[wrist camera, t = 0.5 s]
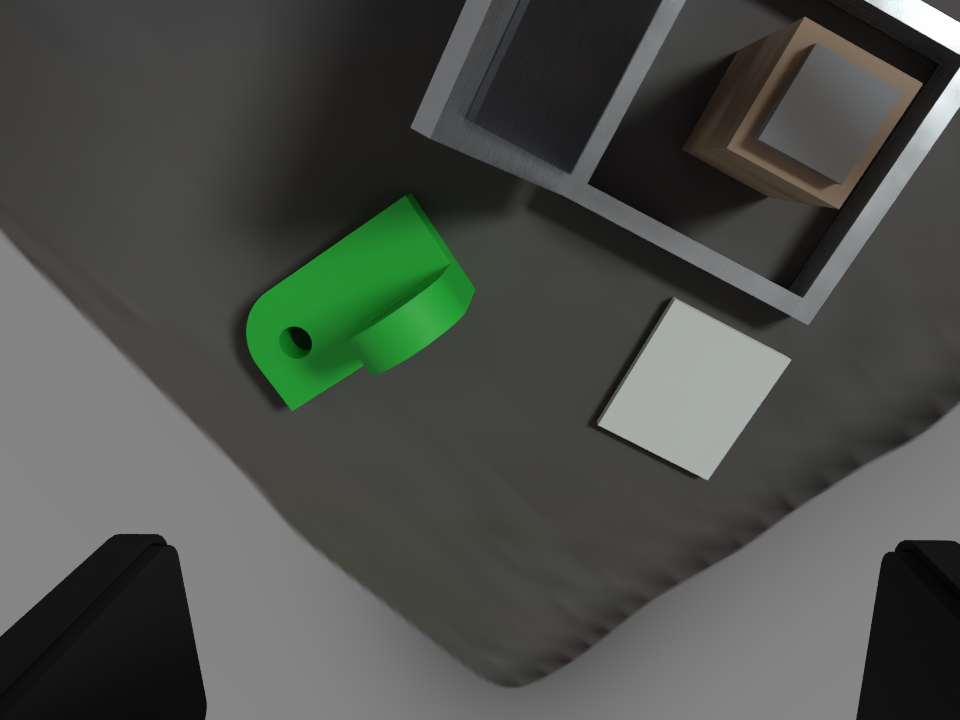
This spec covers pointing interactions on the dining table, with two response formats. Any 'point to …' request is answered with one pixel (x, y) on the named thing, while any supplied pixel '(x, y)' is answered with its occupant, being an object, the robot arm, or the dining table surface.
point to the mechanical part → (359, 304)
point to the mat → (692, 389)
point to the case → (608, 93)
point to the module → (801, 115)
